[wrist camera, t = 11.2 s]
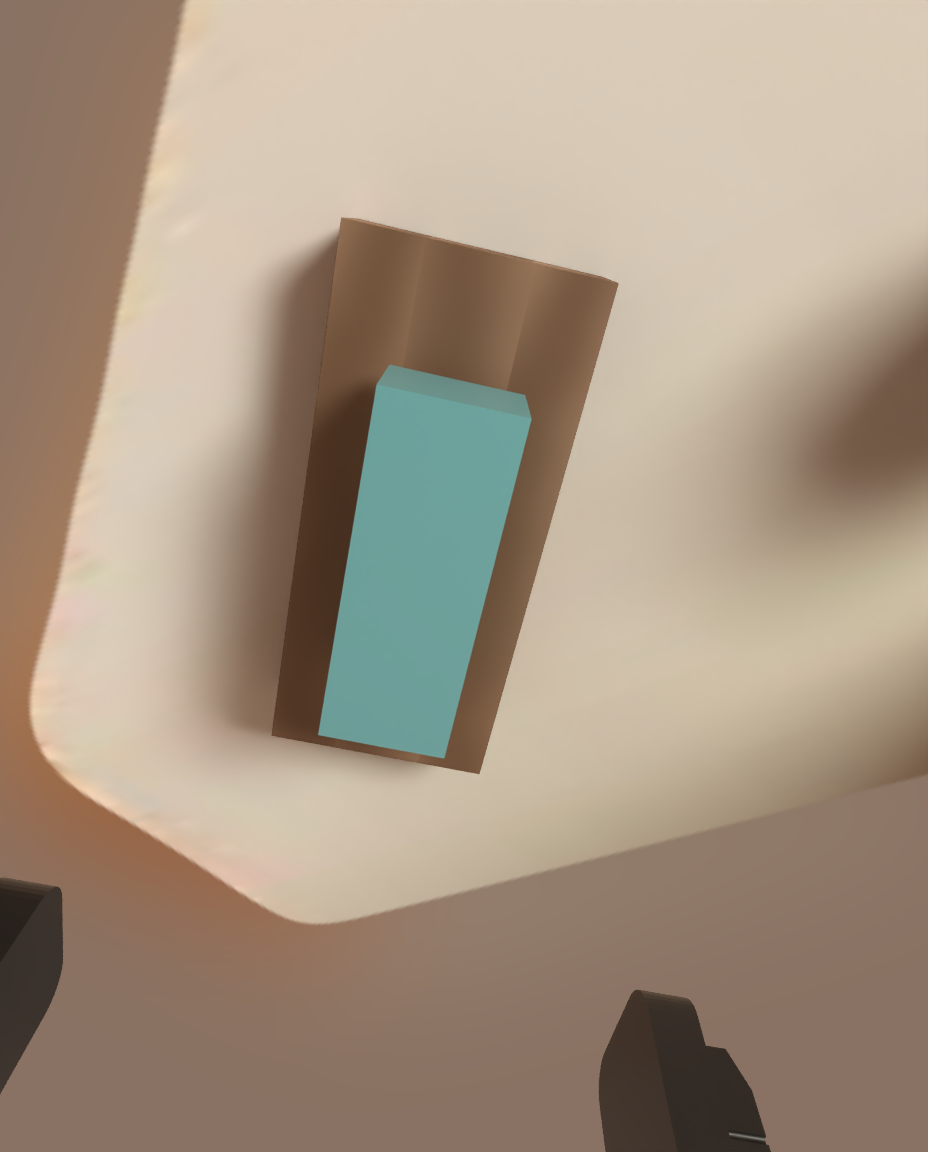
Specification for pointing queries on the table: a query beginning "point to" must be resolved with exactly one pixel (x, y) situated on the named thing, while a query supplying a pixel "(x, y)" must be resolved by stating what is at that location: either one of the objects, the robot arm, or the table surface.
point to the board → (454, 350)
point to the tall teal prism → (421, 557)
